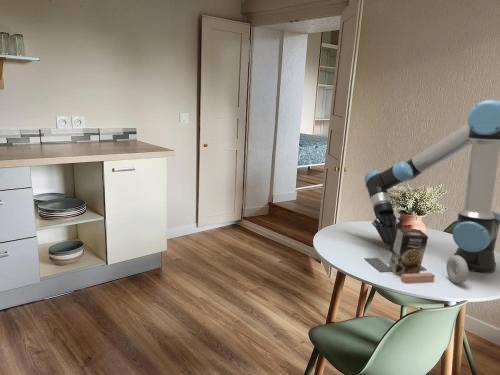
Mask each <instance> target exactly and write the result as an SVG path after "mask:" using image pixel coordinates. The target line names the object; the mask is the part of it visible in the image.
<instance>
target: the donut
mask: <svg viewBox="0 0 500 375" xmlns="http://www.w3.org/2000/svg"><path fill="white" fill-rule="evenodd" d="M445 267H446V273H447V276H448V278H449V279H450V281H451V282H453V283H455V284H463V283H464V282H465V281H466V280H467V279H468V276H469V270H468V266H467V263H466V261H465V260H464V259H463V258H462V257H461V256H458V255H454V254H453V255H452V256H450V257H449V259H447V262H446V266H445Z"/></svg>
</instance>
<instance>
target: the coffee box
mask: <svg viewBox="0 0 500 375" xmlns="http://www.w3.org/2000/svg"><path fill="white" fill-rule="evenodd" d="M428 239H429V236H428V235H427V234H426V233H425V232H424V231H422V230H421V229H412V228H411V229H409V228H402V229H399V228H398V230H397V235H396V239H395V243H394V248H393V252H391V257H390V261H389V265H388V266H389V267H390V268H391V270H392V271H393V274H394V275H395V276H402V274H416V273H421V272H420V268H421V266H422V263H423V259H424V255H425V252H426V247H427V243H428Z"/></svg>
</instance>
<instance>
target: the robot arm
mask: <svg viewBox="0 0 500 375" xmlns="http://www.w3.org/2000/svg"><path fill="white" fill-rule="evenodd" d="M469 146H471V151H470V159H469V165H468V166H469V167H468V172H467V173H468V174H467V181H466V190H465V196H464V204H463V208H462V209H460V210H459V211H458V214H457V220H456V225H455V226H454V228H453V230H452V231H453V232H452V239H453V241H454V243H455V244H456V245H457V246H458V247H457V248H456V250H455V252H454V254H453V256H454V255H458V256H461V257H462V258H463V259H464V260H465V261H466V263H467V266H468V269H469V270H468V271H472V270H473V271H472V272H476V271H479V272H478V273H483V272H490V273H492V272H491V271H494V270H495V271H496V266H497V262H496V259H495V258H496V257H495V248H496V244H497V243H496V242H497V238H498V233H499V229H500V213H499V212H495V211H492V204H493V198H494V191H495V187H496V186H495V184H496V178H497V173H498V172H497V171H498V164H499V159H500V158H499V157H500V99H499V100H498V99H485V100H483V101H480V102H478V103H476V104H475V105H474V106H473V107H472V108H471V109H470V111H469V113H468V117H467V123H466V124H465V125H462V126H461V127H460V128H458V129H456V130H455V131H453V132H452V133H450V134H448V135H447V136H446V137H444V138H443V139H441V140H438V142H435V143H434V144H432V145H431V146H429V147H428V148H426V149H425V150H423V151H421V152H420V153H419V154H417V155H415V156H414V157H412V158H410V159H409V160H407V161H403V160H401V161H400V162H398V163H395V164H393V165H392V166H391V167H389V168H387V169H386V170H384V171H382V172H381V171H379V170H373V171H370V172H369V171H368V173H367V174H365V176H364V183H365V188H366V189H367V192H368V196H369V199H370V203H371V205H372V209H373V213H374V216H375V219H374V220H373V221H372V222H371V224H372V226H373V227H375V229H376V231H377V233H378V235H379V237H380V238H381V241H382V243H383V244H384V245H385V244H386V245H387V246H388V247H389V249H390V252H391V253H392V252H393V248H394V243H395V239H396V235H397V230H398V228H399V229H403V220H402V219H398V218H397V217H396V215H395V212H394V210H395V209H394V208H393V207H394V206H393V204H392V201H391V198H390V195H389V193H388V192H389V191H388V190H389V189H392V188H394V187H395V186H397V185H399V184H401V183H405V182H407V181H412V180H414V179H416V178H417V177H418V176H419V175H421V174H423V173H425V172H426V171H428V170H429V169H430V170H431V168H434V166H436V165H439V164H440V163H441V162H443V161H445V160H447V159H449V158H450V157H452V156H453V155H455V154H457V153H459V152H461V151H462V150H464V149H466V148H468V147H469ZM495 271H494V272H495Z"/></svg>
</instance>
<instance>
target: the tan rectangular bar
mask: <svg viewBox="0 0 500 375" xmlns="http://www.w3.org/2000/svg"><path fill="white" fill-rule="evenodd" d="M400 281H401V282H402V283H403V284H414V283H416V284H417V283H431V282H432V283H433V282H434V281H435V274H434V273H432V272H424V273H423V272H422V273H421V272H419V273H416V274H402V275H401V278H400Z"/></svg>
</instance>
